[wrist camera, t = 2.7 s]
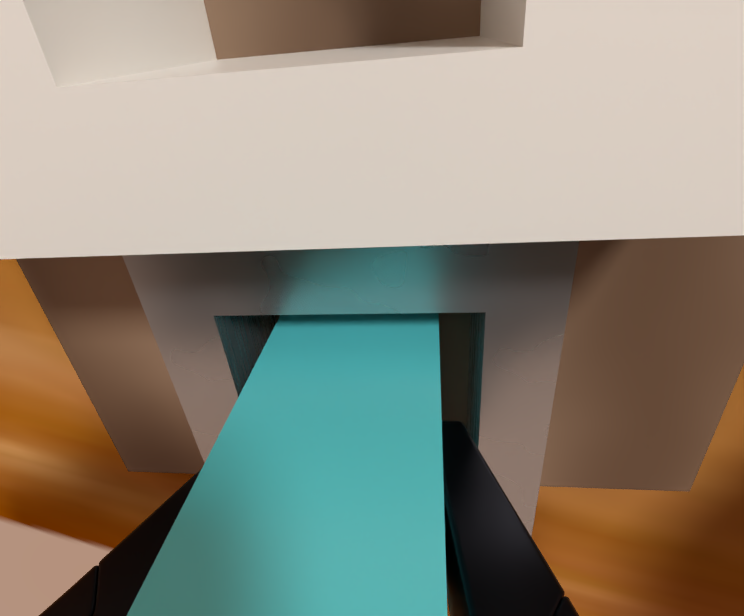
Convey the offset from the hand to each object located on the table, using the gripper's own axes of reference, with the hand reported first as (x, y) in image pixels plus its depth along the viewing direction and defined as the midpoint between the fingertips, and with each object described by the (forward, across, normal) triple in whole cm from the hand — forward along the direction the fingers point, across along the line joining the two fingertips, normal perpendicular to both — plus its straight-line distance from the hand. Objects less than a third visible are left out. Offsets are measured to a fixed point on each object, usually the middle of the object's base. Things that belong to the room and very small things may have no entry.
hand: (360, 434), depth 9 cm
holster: (+2, 0, 0) cm, 2 cm away
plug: (+2, 0, 0) cm, 2 cm away
